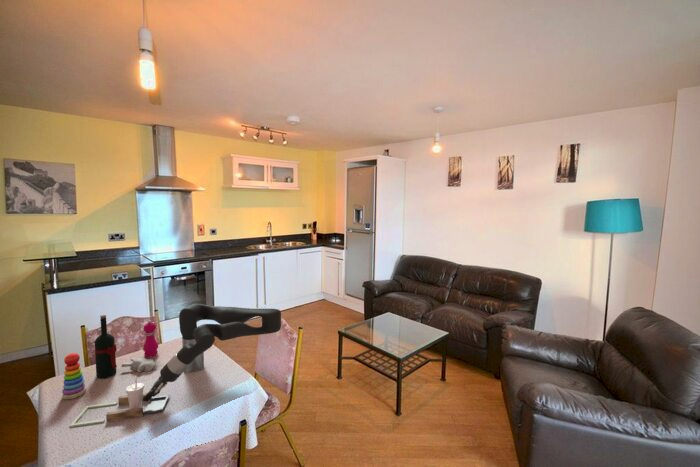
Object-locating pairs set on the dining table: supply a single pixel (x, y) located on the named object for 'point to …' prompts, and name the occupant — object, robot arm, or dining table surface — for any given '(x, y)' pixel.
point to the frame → (90, 421)
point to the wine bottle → (105, 352)
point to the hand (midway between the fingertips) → (145, 399)
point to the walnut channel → (125, 411)
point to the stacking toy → (73, 377)
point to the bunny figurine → (141, 364)
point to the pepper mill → (150, 340)
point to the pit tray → (156, 405)
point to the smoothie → (135, 394)
